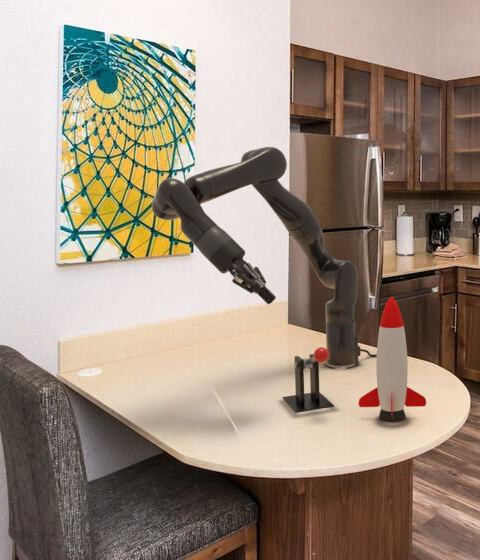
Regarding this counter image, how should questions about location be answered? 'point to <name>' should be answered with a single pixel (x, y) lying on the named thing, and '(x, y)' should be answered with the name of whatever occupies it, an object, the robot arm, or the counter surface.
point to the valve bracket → (307, 400)
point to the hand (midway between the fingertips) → (272, 301)
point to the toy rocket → (392, 370)
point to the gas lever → (316, 358)
